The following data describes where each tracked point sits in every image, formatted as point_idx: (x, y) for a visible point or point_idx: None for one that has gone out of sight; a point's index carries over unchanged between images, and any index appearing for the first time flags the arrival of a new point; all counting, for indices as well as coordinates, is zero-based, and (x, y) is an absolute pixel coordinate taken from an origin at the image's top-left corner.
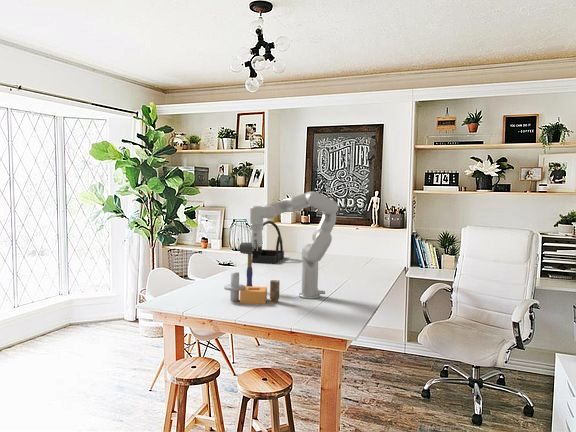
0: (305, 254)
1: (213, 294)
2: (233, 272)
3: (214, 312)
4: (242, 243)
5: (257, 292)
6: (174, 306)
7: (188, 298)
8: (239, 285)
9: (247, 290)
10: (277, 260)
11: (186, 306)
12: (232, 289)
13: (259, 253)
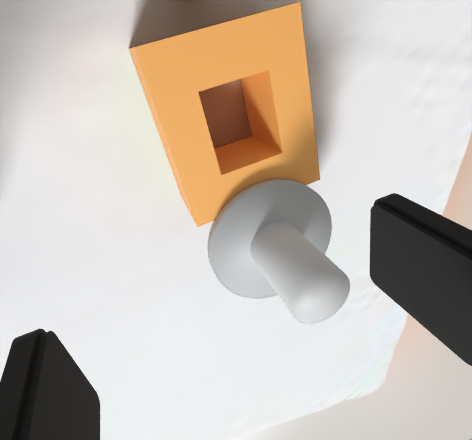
0: None
1: (182, 340)
2: (311, 312)
3: (423, 183)
4: None
5: (304, 66)
6: (373, 327)
7: (276, 361)
8: (245, 233)
9: (296, 146)
10: None
11: (368, 301)
12: (329, 222)
13: (54, 367)
